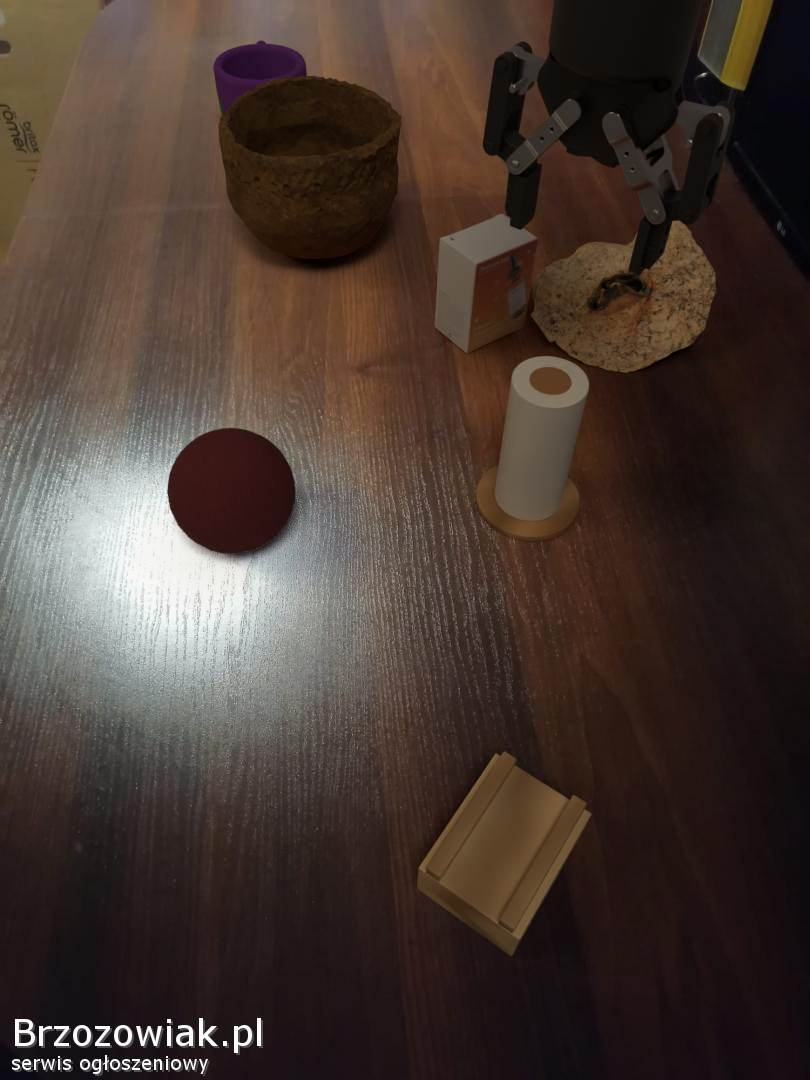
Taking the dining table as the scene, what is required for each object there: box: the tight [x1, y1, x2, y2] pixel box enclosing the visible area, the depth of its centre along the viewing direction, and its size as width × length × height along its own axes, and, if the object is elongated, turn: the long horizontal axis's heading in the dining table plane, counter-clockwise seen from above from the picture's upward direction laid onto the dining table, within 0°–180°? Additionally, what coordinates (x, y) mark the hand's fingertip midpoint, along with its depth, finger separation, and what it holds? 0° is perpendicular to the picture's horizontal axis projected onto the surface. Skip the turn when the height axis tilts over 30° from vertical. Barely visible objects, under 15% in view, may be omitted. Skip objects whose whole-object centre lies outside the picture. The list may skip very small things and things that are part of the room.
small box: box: [434, 213, 539, 354], centre depth 86 cm, size 8×6×10 cm
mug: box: [212, 40, 308, 116], centre depth 111 cm, size 17×11×10 cm, turn 5°
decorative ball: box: [166, 427, 296, 555], centre depth 68 cm, size 10×10×10 cm
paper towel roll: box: [495, 355, 590, 521], centre depth 69 cm, size 6×13×6 cm
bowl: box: [217, 75, 403, 260], centre depth 93 cm, size 19×19×15 cm
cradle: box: [416, 750, 592, 957], centre depth 54 cm, size 7×9×5 cm
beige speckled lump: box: [530, 221, 717, 374], centre depth 89 cm, size 18×14×8 cm
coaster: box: [475, 463, 581, 542], centre depth 75 cm, size 9×9×1 cm
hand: (579, 245), depth 56 cm, fingers open, 8 cm apart
